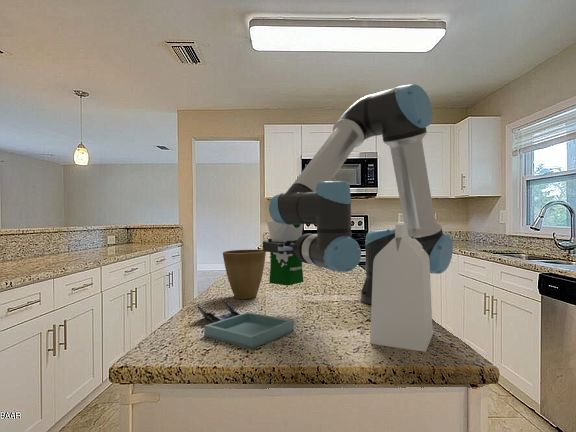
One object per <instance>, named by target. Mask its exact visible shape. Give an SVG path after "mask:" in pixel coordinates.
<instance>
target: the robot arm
mask: <svg viewBox="0 0 576 432" xmlns="http://www.w3.org/2000/svg"><path fill="white" fill-rule="evenodd" d="M433 114H434V113H433V106H432V102H431V100H430V98H429V95H428V93H427V92H426V91H425V89H424V88H423V87H422V86H420V85H419V84H416V83H415V84H414V83H411V84H405V85H399V86H397V87H394V88H390V89H386V90H383V91H379V92H376V93H372V94H367V95H365V96H364V97H363V96H362V97H361V98H360V99H358V100H356V101H355V102H353V104H352V105H350V106H349V107H348V108H347V109H346V110H345V111H344V112H343V114H342V115H340V117H339V118H338V119H337V120H336V122H335V123H334V124H333V127H332V132H331V134H330V135H329V136H328V138H327V139H326V140H325V142H324V143H323V144H322V146H321V147H320V148H319V149H318V151H317V152H316V153H315V154H314V155H313V157H312V158H311V160H310V161H309V163H308V164H307V165H306V166H305V167H304V169H303V170H302V171H301V173H300V174H299V175H298V177H297V178H296V179H295V181H294V182H293V183H292V185H290V187H289V188H288V189H287V190H286V192H285V193H284V192H283V193H282V192H281V193H278V194H276V195H274V196H272V198H271V199H270V200H269V204H268V214H269V216H270V217H271V219H272V221H273V220H274V221H275V222H277V223H281V224H287V225H290V224H303V225H316V233H304V234H302V236H300V237H299V238H298V240H294V241H291V240H290V241H286V242H274V241H273V240H272V239H270V238H268V239H263V241H262V250H263V251H264V252H266V253H270V252H274V253H279V254H284V253H285V252H286V253H287V254H294V255H296V256H297V258H298V259H299V260H300V261H302V263H304V264H308V265H312V266H316V267H317V268H318V270H319V269H320V270H321V269H323V268H324V269H326V270H329V271H332V272H342V273H346V272H347V273H348V272H350V271H352V270H354V269H356V267H357V266H358V265H359V264H360V261H361V259H362V250H361V247H360V245H359V243H358V241H357V240H356V239H354V238H353V237H352V197H351V186H350V184H349V183H348V182H347V181H341V180H340V181H339V180H338V181H337V180H334V181H333V179H334V177H336V174H337V173H338V172H339V171H340V169H341V168H342V166H343V165H344V163H345V162H346V161H347V159H348V158H349V156H350V155H351V153H352V152H353V151H354V149H355V148H358V147H360V146H361V145H362V144H363V143H364V141H365V140H367V139H369V138H372V137H376V136H382V141H383V143H384V144H386V145H387V146H389V148H390V155H391V159H392V164H393V171H394V176H395V181H396V186H397V191H398V197H399V203H400V209H401V213H402V220H403V224H407V230H408V236H410V237H411V238H412V239H413V238H415V239H416V240H417V241H418V242H419V243H420V244H421V245H422V247H423V249H424V250H425V251H426V253H427V254H428V255H429V261H430V274H433V275H434V274H435V275H440V274H443V273H444V272H445V271H446V270H447V269H448V268H449V266H450V264H451V260H452V256H453V250H454V243H453V239H452V237H451V235H450V234H447V233H444V232H443V228H442V225H441V224H440V223H438V222H437V221H436V219H435V213H434V205H433V199H432V193H431V187H430V181H429V176H428V171H427V170H428V169H427V163H426V157H425V150H424V145H423V139H424V138H425V136H426V135H427V133H428V132H427V127H429V126H430V125H431V124H432V122H433V117H432V116H433ZM393 238H395V228H391V229H388V228H387V229H380V230H374V231H369V232H367V234H366V236H365V244H364V247H365V278H364V282H363V286H362V289H361V291H360V301H361V302H363V303H365V304H368V305H372V280H373V261H374V258H375V256H376V255H377V254H378V253H379V252H380V251H381V250H382V249H383V248H384V247H385V246H386V245H387V244H388V243H389V242H390V241H391V240H392V239H393ZM291 243H292V244H291Z"/></svg>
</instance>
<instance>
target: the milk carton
mask: <svg viewBox="0 0 576 432" xmlns="http://www.w3.org/2000/svg"><path fill="white" fill-rule="evenodd" d="M266 224H267V228H268V232H269V239H272V240H273V241H274V242H286V241H290V240H291V241H294V240H298V238H299V237H300V236H302V235H303V228H304V224H290V225H287V224H281V223H277V222H275V221H274V220H273V219H272V220H267V221H266ZM291 244H292V243H291ZM269 254H270V257H269V261H270V265H269V268H270V269H269V284H273V285H281V286H287V287H288V286H292V285H297V284H302V283H304V271H303V262H302V261H300V260H299V259H298V258H297V256H296V255H294V254H287V253H286V252H285V253H284V254H279V253H274V252H269Z"/></svg>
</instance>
